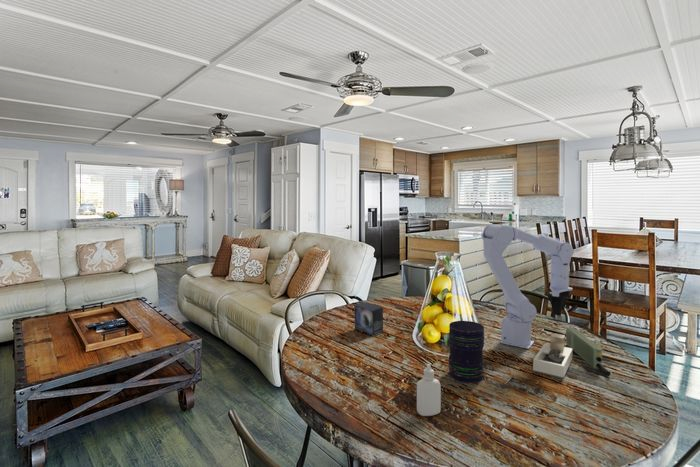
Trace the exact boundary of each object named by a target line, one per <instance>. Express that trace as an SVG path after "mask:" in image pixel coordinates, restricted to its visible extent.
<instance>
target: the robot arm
mask: <svg viewBox="0 0 700 467" xmlns="http://www.w3.org/2000/svg"><path fill="white" fill-rule="evenodd" d="M480 237H481V239H482V241H483V244H482V245H483V256H484V258H485V260H486V262H487V264H488V266H489V267H490V268H489V269H490V270H491V272H492V274H493V275H494V278H495V280H496V281H497V283H498V285H499V287H500V289H501V291H502V293H503V295H504V297H503V302H504V304H505V306H504V309H505V311H506V312H507V314H508V315H507V316H504V317H503V318H502V320H501V326H500V329H501V331H500V343H501V344H504V345H508V346H514V347H517V348H523V349H527V350H528V349H530V348H531V347H532V346H533V344H534V343H535V341H534V340H532V323H533V320H534V319H535V318H536V317H537V308H536V306H535V305H534V304H532V303H531V302H530V300H529V298H528V297H526V296H525V295H524V294H523V293H522V292H521V289H520V287H519V285H518V284H517V281H516V279H515V278H514V276H513V274H512V272H511V270H510V267H509V266H508V264H507V262H506V260H505V258H504V256H503V254H504V252H505V251H506V250H507V248H508V247H509V246H510V244H511V243H512V242H513V241H517V240H519V241H521V242H525V243H527V244H531V245H532V247H533V249H534V250H536V251H539V252H542V253H546V254H548V256H550V286H549V289H550V290H551V293H547V298H548V300H549V302H550V305H551V310H552V314H553V315H555V316H560V315H561V313H562V310H563V311H565V309H566V305H567V300H568V298H569V296H570V294H571V291H573V287H570V286H569V284H570V263H571V261H572V260H571V258H572V256H573V255H574V253H575V250H574V248H573V246H572V244H570V242H567V241H566V242H565V241H561V240H560V238H558V237H555V238H553V237H552V236H550V235H549V234H548V233H539V234H537V235H535V234H532V233H530V232H528V231H526V230H523V229H521V228H519V227H515V226H510V225H502V224H501V225H499V224H495V223H490V224H487V225H485V227H484V229H483V230H482V234H481V236H480Z"/></svg>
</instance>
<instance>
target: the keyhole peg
mask: <svg viewBox="0 0 700 467" xmlns="http://www.w3.org/2000/svg"><path fill="white" fill-rule="evenodd" d="M549 344H550V348H551V349H554V353H550V354H549V359H550V360H551V361H554V362H559V363H562V362H563V360H564V358H565V357H560V356H559V354H560V351H563V349H564V347H566V346H565V344H566V334H560V333H554V332H552V334H550V342H549Z"/></svg>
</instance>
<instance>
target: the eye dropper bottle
mask: <svg viewBox="0 0 700 467" xmlns="http://www.w3.org/2000/svg"><path fill="white" fill-rule="evenodd" d="M440 382H441V381H440V380H438V379H437V378H435V371H434V369H433V368H432V367H431V364H429V363H427V364H426V368H423V377H422V379H420V380H418V381H417V383H416V412H417V413H418V415H420V416H421V417H431V416H435V415H438V414H439V413H440V412H441V409H442V407H441V402H442V401H441V398H442V396H441V393H442V391H441V390H442V389H441V388H442V387H441V383H440Z"/></svg>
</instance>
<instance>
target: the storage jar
mask: <svg viewBox="0 0 700 467" xmlns="http://www.w3.org/2000/svg"><path fill="white" fill-rule="evenodd" d="M484 331H485V326H484V325H482V324H480V323H478V322H475V321H470V320H455V321H452V322H450V323H449V331H448V343H449V355H448V375H450V376H449V377H450V378H451V379H452V378H453V379H452V380H453V381H457V382H459V383H462V384H470V383H472V384H478V383H481V382H482V381H483V380H484V370H485V365H484V364H485V361H484V360H485V359H484V355H483V354H484V347H485V332H484ZM480 381H481V382H480Z"/></svg>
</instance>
